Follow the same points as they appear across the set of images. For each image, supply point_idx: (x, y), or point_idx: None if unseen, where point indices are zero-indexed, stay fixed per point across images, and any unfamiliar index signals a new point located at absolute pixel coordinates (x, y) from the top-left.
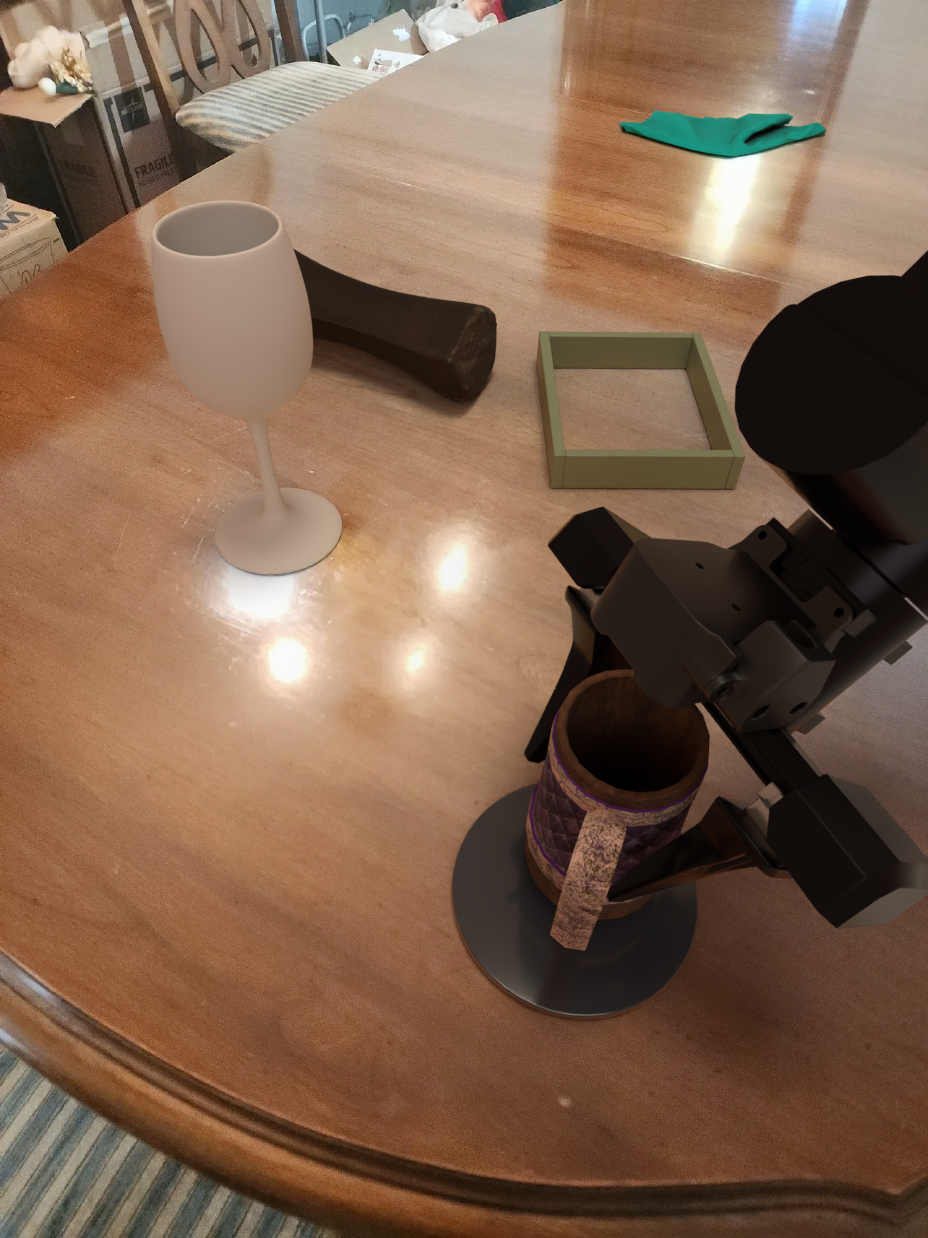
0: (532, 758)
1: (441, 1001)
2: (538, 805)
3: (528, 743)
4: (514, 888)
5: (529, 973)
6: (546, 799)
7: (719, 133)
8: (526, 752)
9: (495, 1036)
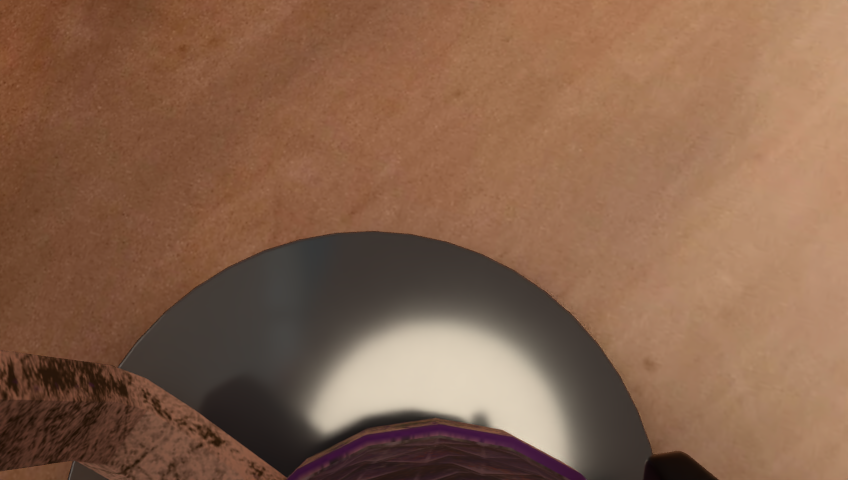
0: (652, 478)
1: (225, 163)
2: (494, 456)
3: (714, 478)
4: (405, 381)
5: (207, 352)
6: (449, 465)
7: None
8: (680, 460)
9: (122, 248)
